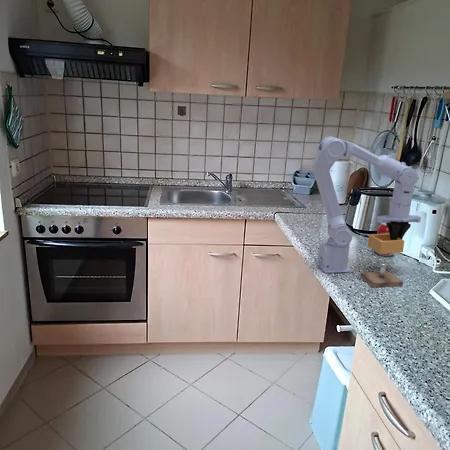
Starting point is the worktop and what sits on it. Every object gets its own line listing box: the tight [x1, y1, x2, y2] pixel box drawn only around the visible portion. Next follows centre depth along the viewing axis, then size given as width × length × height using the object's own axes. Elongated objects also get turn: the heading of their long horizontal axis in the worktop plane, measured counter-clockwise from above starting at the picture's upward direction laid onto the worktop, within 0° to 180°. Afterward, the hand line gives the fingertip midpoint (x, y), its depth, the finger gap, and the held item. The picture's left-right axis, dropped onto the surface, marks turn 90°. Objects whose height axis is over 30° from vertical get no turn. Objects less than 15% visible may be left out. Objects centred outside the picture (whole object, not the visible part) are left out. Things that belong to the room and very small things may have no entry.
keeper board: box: [360, 262, 404, 288], centre depth 131 cm, size 10×8×6 cm
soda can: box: [375, 223, 395, 257], centre depth 156 cm, size 7×7×12 cm
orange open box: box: [367, 233, 405, 254], centre depth 138 cm, size 8×8×4 cm
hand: (395, 243), depth 138 cm, fingers closed on orange open box
